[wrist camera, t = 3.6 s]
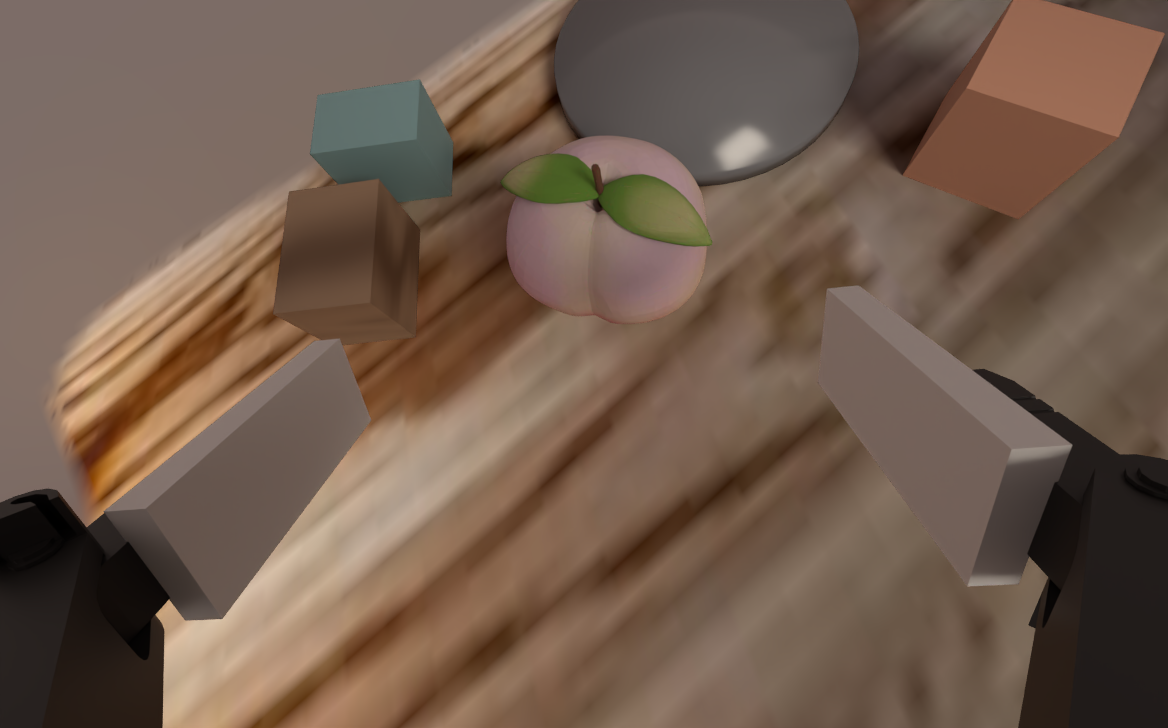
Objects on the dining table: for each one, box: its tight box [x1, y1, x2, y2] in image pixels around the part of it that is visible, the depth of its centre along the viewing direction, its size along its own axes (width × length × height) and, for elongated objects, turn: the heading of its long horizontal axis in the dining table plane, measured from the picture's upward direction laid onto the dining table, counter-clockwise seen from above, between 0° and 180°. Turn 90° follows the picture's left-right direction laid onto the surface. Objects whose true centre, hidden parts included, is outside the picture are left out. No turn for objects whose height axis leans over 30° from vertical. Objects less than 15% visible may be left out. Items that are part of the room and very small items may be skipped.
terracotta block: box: [903, 0, 1165, 219], centre depth 25 cm, size 6×6×6 cm
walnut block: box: [273, 179, 420, 345], centre depth 28 cm, size 7×5×5 cm
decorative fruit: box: [501, 136, 712, 324], centre depth 23 cm, size 9×8×10 cm
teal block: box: [310, 80, 453, 203], centre depth 30 cm, size 6×4×5 cm, turn 93°
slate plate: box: [554, 0, 859, 186], centre depth 31 cm, size 18×18×1 cm
